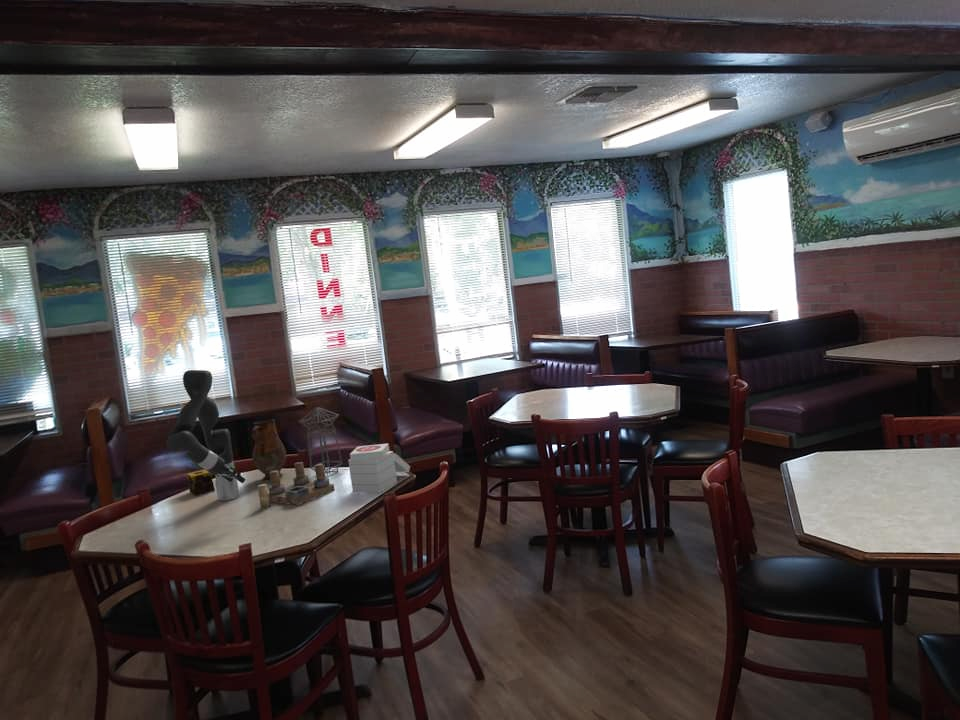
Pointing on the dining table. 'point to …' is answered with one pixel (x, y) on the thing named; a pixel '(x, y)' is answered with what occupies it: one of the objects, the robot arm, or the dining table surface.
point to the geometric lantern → (322, 436)
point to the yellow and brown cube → (200, 482)
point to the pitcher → (267, 448)
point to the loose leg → (263, 496)
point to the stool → (299, 486)
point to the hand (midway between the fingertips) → (237, 480)
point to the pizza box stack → (374, 468)
